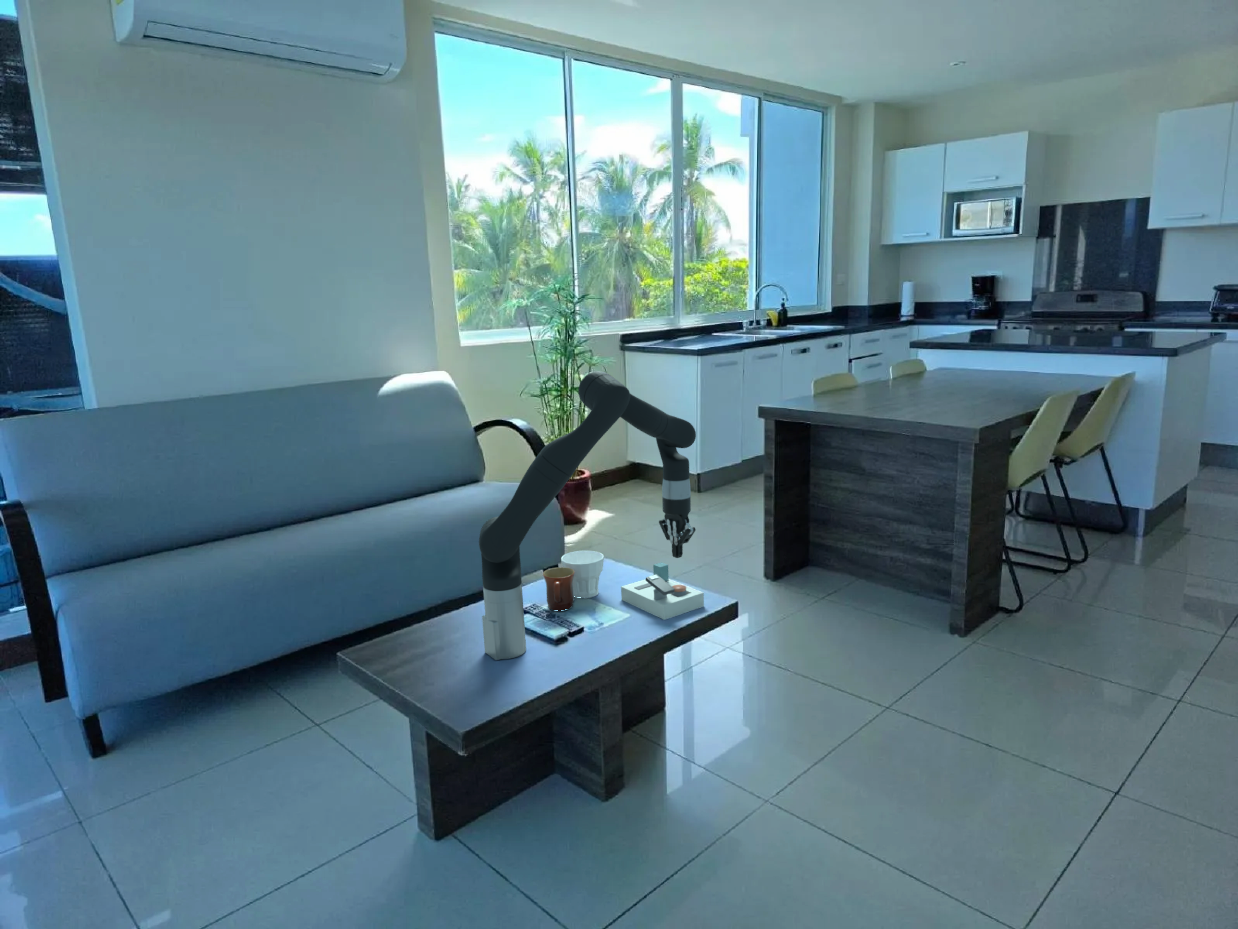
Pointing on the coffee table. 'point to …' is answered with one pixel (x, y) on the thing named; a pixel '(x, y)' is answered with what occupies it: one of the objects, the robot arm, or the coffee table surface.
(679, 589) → the push button
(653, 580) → the rocker
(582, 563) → the cup
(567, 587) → the mug
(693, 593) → the panel
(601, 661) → the coffee table surface
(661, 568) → the slider knob
